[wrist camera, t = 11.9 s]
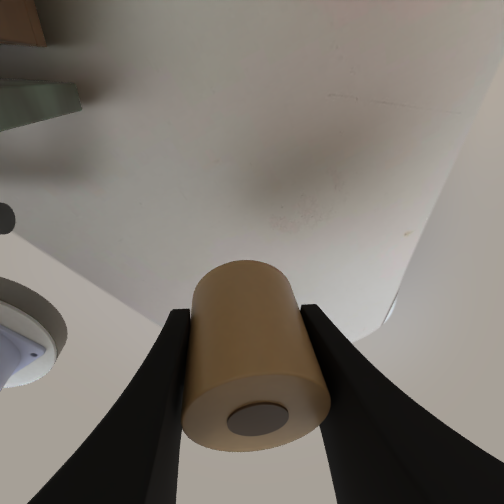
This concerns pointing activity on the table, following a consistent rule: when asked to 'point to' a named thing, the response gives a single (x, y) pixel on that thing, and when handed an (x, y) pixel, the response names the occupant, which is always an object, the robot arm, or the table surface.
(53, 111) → the drawer
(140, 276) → the table surface
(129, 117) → the table surface
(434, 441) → the robot arm
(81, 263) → the table surface
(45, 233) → the table surface
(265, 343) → the paper towel roll
